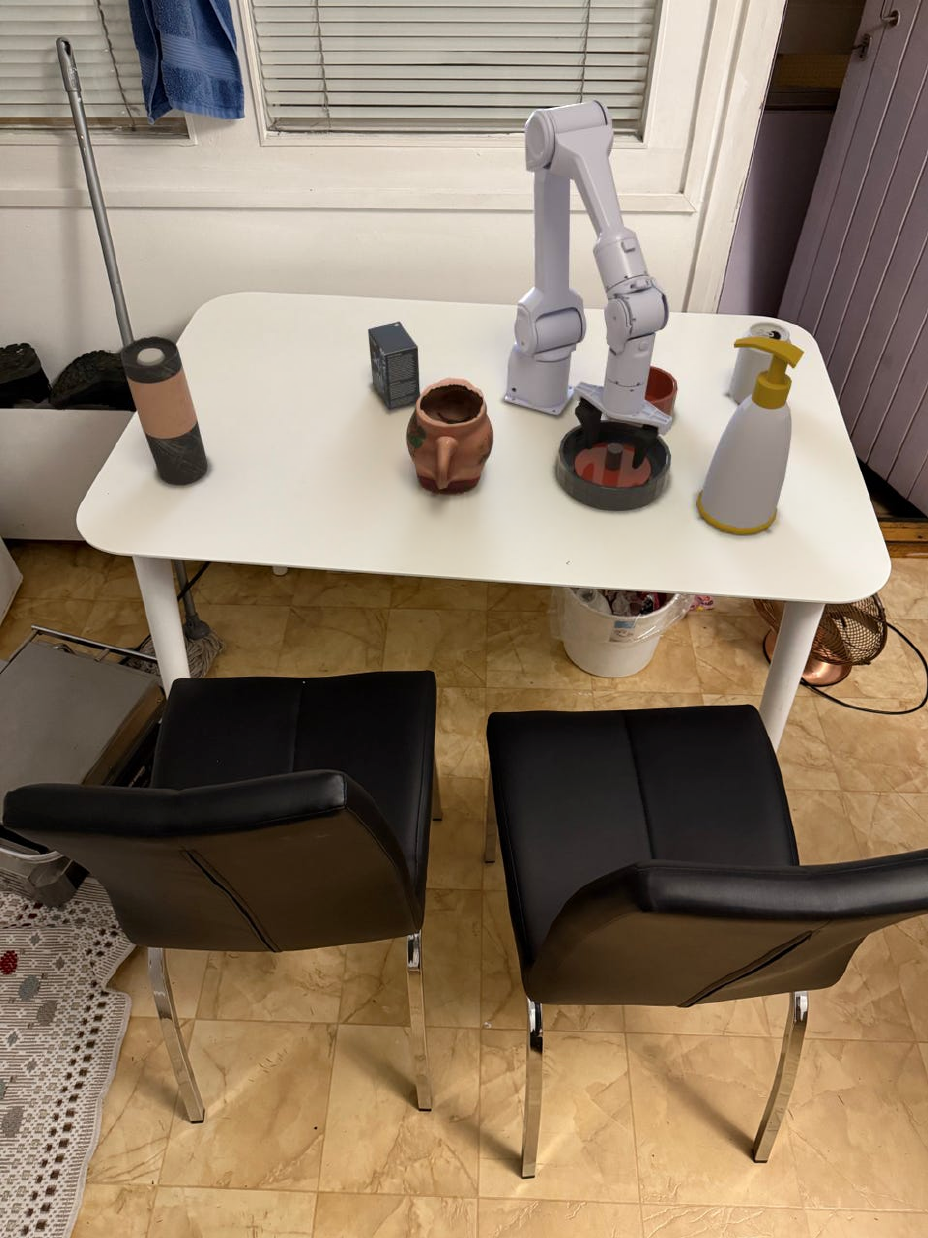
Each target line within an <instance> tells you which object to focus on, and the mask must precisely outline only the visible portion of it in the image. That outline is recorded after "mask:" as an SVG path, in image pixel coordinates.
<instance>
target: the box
mask: <svg viewBox="0 0 928 1238" xmlns="http://www.w3.org/2000/svg"><path fill="white" fill-rule="evenodd" d="M367 334H368V347H369V355H370V363H371V364H370V365H371V376H372V377H371V378H372V385H373V387H374V388H375V390H376V391H377V393H378V395H379V396H380V398H381V400H382V402H383V403H384V404H385V406H386V409H387V410H388V411H393V410H398V409H402V408H405V407H410V406H413V405H414V406H415V405H416V402H417V400H418V398H419V397H420V396H421V389H420V388H421V387H420V367H419V366H420V365H419V363H420V362H419V346H418V345H417V343H416V342H415V341H414V339H413V338H412V337H411V336H410V334H409V332H407V330H406V328H405V327H404V325H403V323H401V321H396V322H392V323H388V324H382V325H378V326H374V327H371V328H368V329H367Z"/></svg>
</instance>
